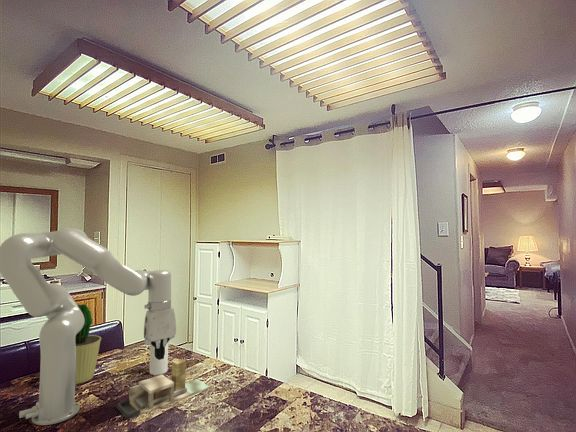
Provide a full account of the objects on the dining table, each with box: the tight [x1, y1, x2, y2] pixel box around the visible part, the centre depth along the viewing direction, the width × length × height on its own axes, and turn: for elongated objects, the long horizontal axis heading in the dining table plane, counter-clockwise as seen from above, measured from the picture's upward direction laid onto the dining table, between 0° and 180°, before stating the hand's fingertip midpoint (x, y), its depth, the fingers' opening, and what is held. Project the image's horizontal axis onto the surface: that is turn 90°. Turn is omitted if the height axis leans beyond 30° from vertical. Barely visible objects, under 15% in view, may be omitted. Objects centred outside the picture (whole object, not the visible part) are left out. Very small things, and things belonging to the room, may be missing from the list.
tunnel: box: [116, 374, 211, 420], centre depth 118 cm, size 30×10×6 cm, turn 136°
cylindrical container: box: [149, 340, 169, 376], centre depth 141 cm, size 7×7×25 cm
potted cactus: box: [75, 303, 102, 385], centre depth 134 cm, size 15×15×30 cm
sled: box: [134, 358, 187, 408], centre depth 117 cm, size 16×6×11 cm, turn 136°
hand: (159, 358), depth 116 cm, fingers closed
